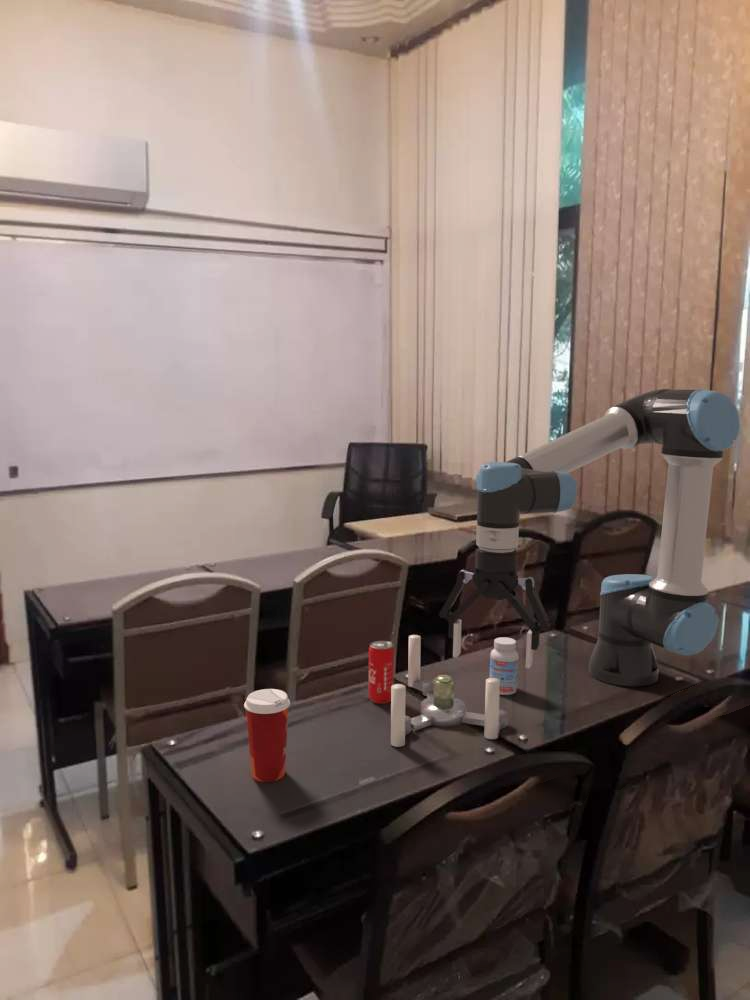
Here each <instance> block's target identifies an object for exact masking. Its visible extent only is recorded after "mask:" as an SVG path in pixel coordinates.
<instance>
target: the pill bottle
mask: <svg viewBox="0 0 750 1000" xmlns="http://www.w3.org/2000/svg"><path fill="white" fill-rule="evenodd" d="M493 647H494V648H493V649H492V650H491V652H490V654H489V655H490V656H489V678H496V679H499V680H500V694H499V696H501V695H502V696H510V695H513V694H515V693H517V690H518V678H519V660H520V659H519V656H520V655H519V653H518V651H517V650H516V648H517V641H516V640H515V639H514V638H511V637H507V636H506V637H504V636H502V637H501V636H500V637H496V638H495V639H494V641H493Z"/></svg>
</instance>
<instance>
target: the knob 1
mask: <svg viewBox="0 0 750 1000" xmlns="http://www.w3.org/2000/svg"><path fill="white" fill-rule="evenodd" d="M406 691H407V690H406V685H405V684H402V683H395V684H393V685H392V686H391V701H390V702H391V703H390V745H391V746H393V747H395V748H400V747H404V746H405V744H406V735H408V734H410V733H412V732H411V731H412V730H411V718H412V717H410V716H408V715H406Z"/></svg>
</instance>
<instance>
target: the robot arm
mask: <svg viewBox="0 0 750 1000" xmlns="http://www.w3.org/2000/svg"><path fill="white" fill-rule="evenodd" d="M740 424H741V422H740V415H739V412H738V409H737V405H736V404H735V403H733V401H732V399H731V398H730V397H729V396H728V395H727V394H725V393H723V392H721V391H716V390H709V389H704V388H702V389H673V388H659V389H654V390H651V391H647V392H644V393H643V394H642V393H641V394H640V395H636V396H634V397H632V398H629V399H627V400H625V401H622V402H620V403H618V404H616V405H614V406H612V407H610V408H608V409H607V410H606V411H605V413H604V415H603V416H602V417H599V418H597V419H595V420H594V421H591V422H589V423H587V424H585V425H583V426H581V427H578V428H576V429H573V430H571V431H570V432H567V433H566V434H563V435H561V436H559V437H558V438H555V439H553V440H550V441H549V442H546V443H544V444H542V445H540V446H538V447H536V448H534V449H531V450H530V451H526V453H523V454H520V455H519V456H516V457H513V458H511V459H510V460H506V461H505V462H504V461H503V462H502V461H501V462H500V461H499V462H497V461H489V462H485V463H483V464H482V465H481V466H480V468H479V470H478V472H477V473H476V476H475V486H476V487H475V488H476V490H477V515H476V520H477V521H476V537H475V541H476V542H475V545H476V546H477V548H476V549H475V559H474V560H475V565H474V566H475V567H474V572H471V571H467V569H465V568H463V569H461V570H460V571H458V572H457V575H456V576H457V577H456V582H455V584H454V586H453V588H452V590H451V591H450V593H449V595H448V597H447V599H446V601H445V602H444V605H443V606H442V608H441V610H440V611H439V613H438V616H439V618H441V619H445V620H447V622H448V634H447V635H448V638H449V639H452V640H453V641H452V643H453V644H452V658H455V659H456V658H458V656H459V655H460V654H461V650H462V649H461V648H462V647H461V644H462V619H459V617H460V616H461V615H462V614H463V613H465V611H466V610H467V609H468V608H469V607H470V606H471V605H472V604H473V603H474V602H475V601H476V600H477V599H478V598H479V597H480V596H482V597H484V598H485V599H495V600H498V601H503V600H504V599H505V600H506V601H508V603H509V604H510V605H512V607H513V608H514V609H515V611H516V612H517V614H518V616H519V617H520V618H521V620H523V622H524V623H525V624H526V626H527V627H528V628H529V630H528V631H527V632H526V633H527V634H526V648H525V649H526V651H525V669H531V667H532V665H533V661H534V660H533V657H534V651H537V650H538V648H539V647H540V636H541V633H542V632H548V631H549V630H550V627H551V621H550V619H549V616H548V615H547V613H546V611H545V608H544V606H543V603H542V600H541V598H540V597H539V594H538V592H537V590H536V584H535V577H534V576H533V575H530V576H528V577H519V575H518V554H519V553H518V552H519V551H518V550H517V548H518V547H519V533H520V532H519V531H520V529H519V528H520V517H521V516H520V515H528V514H530V515H531V514H532V515H533V514H546V513H547V514H548V513H549V514H550V513H553V514H556V513H560V512H565V511H568V510H570V509H571V508H572V507H573V506H574V505H575V503H576V501H577V498H578V495H577V494H578V485H577V482H576V480H575V479H574V476H572V475H571V474H570V473H571V472H574V471H575V470H578V469H580V468H582V467H584V466H585V465H588V464H590V463H592V462H594V461H596V460H598V459H600V458H602V457H605V456H606V455H608V454H611V453H612V452H615V451H617V450H619V449H622V450H630V449H633V448H635V447H636V446H640V445H646V444H648V445H649V444H652V445H653V444H655V445H656V444H657V445H661V456H662V457H663V458H664V460H665V462H667V465H668V466H667V474H666V486H665V496H664V504H663V505H664V506H663V515H662V516H663V517H662V525H661V526H662V527H661V533H660V534H661V537H660V546H659V555H658V556H659V558H658V564H657V565H658V566H657V576H656V577H655V576H652V575H647V574H635V573H633V574H631V573H629V574H628V573H626V574H625V573H624V574H614V575H609V576H607V577H605V578H604V579H603V580H602V582H601V585H600V586H601V587H600V589H601V590H600V593H599V612H598V614H599V615H598V616H599V617H598V618H599V619H598V623H599V624H598V638H597V641H596V644H595V646H594V649H593V650H592V651H593V652H592V653H591V656H590V658H589V661H588V673H589V674H590V675H591V676H592V677H593V678H595V679H596V680H599V681H602V682H604V683H607V684H612V685H614V686H621V687H622V686H623V687H646V686H650V685H653V684H655V683H657V681H658V680H659V672H660V671H659V665H658V663H657V658H656V653H655V651H654V647H653V645H656V646H657V647H661V648H663V649H665V650H666V651H668V652H671V653H677V654H680V655H682V656H692V655H695V654H698V653H700V652H702V651H703V650H704V649H705V648H706V647H707V645H709V644H710V643H711V642H712V641H713V640H714V639H713V638H714V637H715V635H716V632H717V629H718V626H719V616H718V612H717V611H716V608H715V607H714V606H712V605H711V604H710V603H708V594H709V590H708V588H707V587H706V586H705V584H703V582H702V579H703V578H702V577H703V569H704V557H705V548H706V541H707V540H706V539H707V530H708V529H707V528H708V522H709V512H710V502H711V494H712V493H711V492H712V483H713V476H714V475H713V472H714V467H715V466H716V465H717V464H718V463H720V462H721V461H722V460H723V457H724V451H726V450H728V449H729V448H731V447H732V445H734V442H735V440H737V438H738V435H739V432H740V426H741V425H740ZM470 580H471V581H472V582H473V584H474V585H475V586H476V589H475V590H474V591H473V592H472V593H471V594H470V595H469V596H468V597H467V598H466V599H465V601H463V602H462V603H461V604H460V605H459V607H457V609H455V610H454V611H453V612H452V611H451V609H452V608H453V606H454V604H455V602H456V601H457V599H458V597H459V595H460V594H461V592H462V590H463V588H464V586H465V585H466V584H468V583H469V582H470ZM518 585H520V586H521V589H522V590H523V591H525V592H526V596H527V599H528V600H529V603H530V605H531V607H532V610H533V611H534V614H535V616H534V615H533V614H532V612H531V611H530V609H528V607H527V606H526V605H525V603H524V601H523V600H522V598H520V595H519V594H518V593H517V591H516V590H515V589H516V588H517V587H518ZM535 617H536V618H535Z"/></svg>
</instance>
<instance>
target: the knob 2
mask: <svg viewBox="0 0 750 1000" xmlns="http://www.w3.org/2000/svg"><path fill="white" fill-rule="evenodd" d="M484 700H485V701H484V715H485V725H484V726H483V727H484V729H483V730H484V732H483V737H484V738H486V739H488V740H496V739H498V738H499V733H500V730H501V729H502V730H503V729H505V728H507V726H508V712H507V711H506V710H504V709H500V680H499V679H496V678H490V677H488V678H486V679H485V695H484Z"/></svg>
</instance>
